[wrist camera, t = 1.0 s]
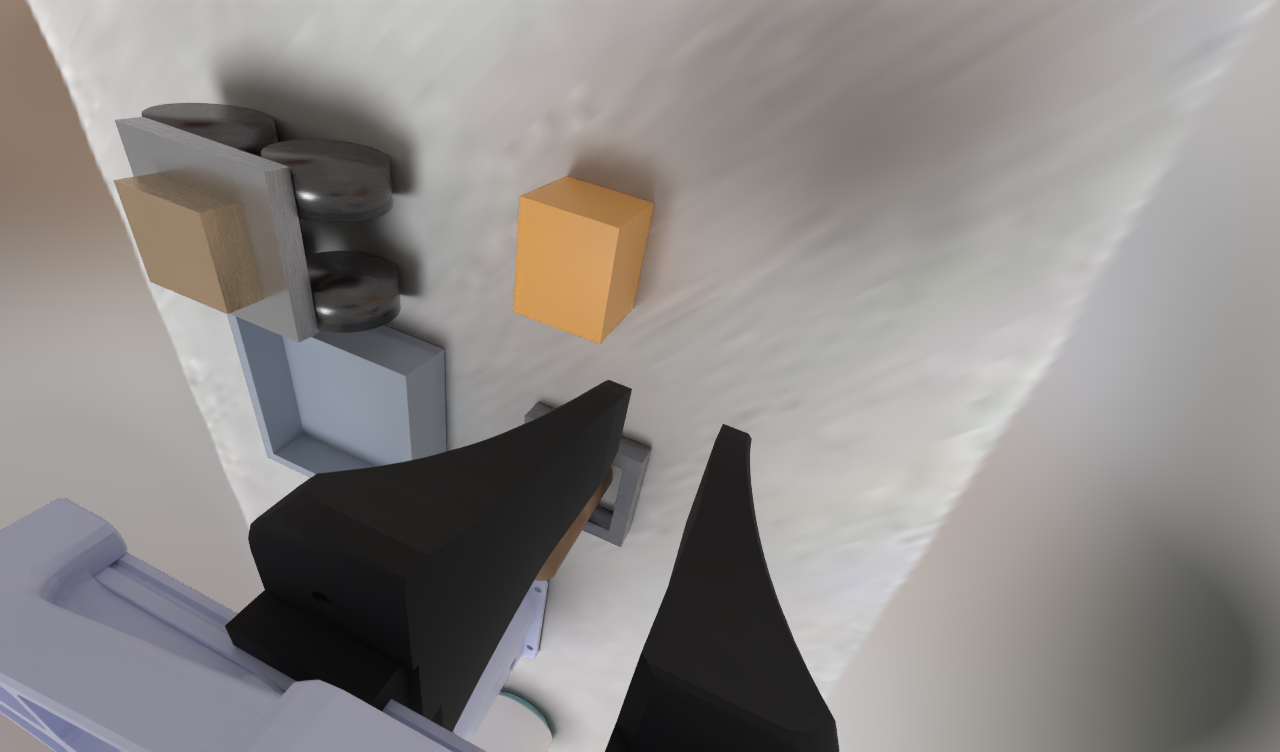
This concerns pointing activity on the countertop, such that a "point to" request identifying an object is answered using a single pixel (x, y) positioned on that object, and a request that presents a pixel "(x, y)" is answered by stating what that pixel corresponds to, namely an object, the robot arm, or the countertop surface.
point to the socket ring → (634, 465)
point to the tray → (344, 397)
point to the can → (512, 727)
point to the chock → (579, 256)
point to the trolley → (255, 218)
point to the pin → (573, 532)
